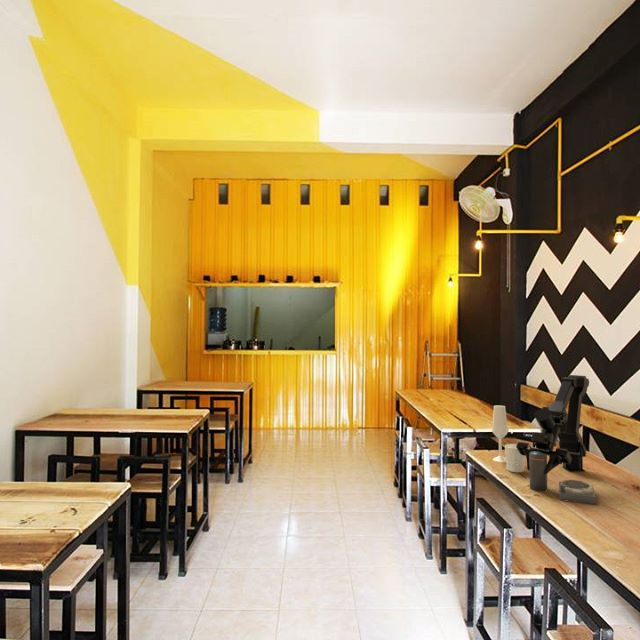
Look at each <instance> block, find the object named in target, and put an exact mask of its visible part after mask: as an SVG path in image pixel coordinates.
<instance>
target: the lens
mask: <svg viewBox="0 0 640 640" xmlns="http://www.w3.org/2000/svg"><path fill="white" fill-rule="evenodd" d="M547 463H548V455H547V454H546V453H543V452H536V451H534V452H529V490H532V491H534V490H535V492H541V491H542V492H546V490H547V491H548V473H547V474H545V468H546V466H547Z"/></svg>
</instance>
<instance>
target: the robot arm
mask: <svg viewBox="0 0 640 640" xmlns="http://www.w3.org/2000/svg"><path fill="white" fill-rule="evenodd" d="M589 386H590V380H589V378H587V376H586V375H577V374H569V375H568V376H565V377H562V378H561V384H560V387H559V388H558V392H557V393H556V396H555V398H554V401H553V402H552V403H550V404H549V405H548V406H542V408H540V409H537V411H535V412H534V418H535V421H536V422H537V424H538V426H539V427H540V429H541V431H540V432H534V431H533V432H532V433H531V434H532V435H531V440H530V441H531V442H533V445H534V446H533V447H532V446H531V445H530V444H529V442H525V441H518V442H517V443H516V444H517V445H516V448H517V449H518V451H519V453H520V454H521V455H524V456H525V459H526V469H527V471H529V452H534V451H536V452H543V453H546V454H547V457H549V458H548V460H547V466H546V468H545V474H547V475H548V474H549V473H550V472H551V471H552V470H553V469H554V468H556V467H557V466H559V465H562V466H561V467H562V468H563V469H565V470H566V471H568V472H585V471H586V470H585V469H584V467H583V466H584V464H583V462H584V461H583V460H584V459H583V458H586V457H587V449H586V446H585V443H584V442H583V437H582V435H581V433H580V423H581V414H582V413H581V412H582V403H583V397H584V396H585V394H586V393H587V392H588V387H589ZM567 407H568V409H567ZM565 423H566V427H565V430H564V431H562V432H561V428H560V426H559V425H562V426H563V425H565ZM559 435H560V439H559V442H558V447H557V439H558V436H559ZM554 447H557V448H556V449H555V450H554Z"/></svg>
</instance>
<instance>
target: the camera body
mask: <svg viewBox="0 0 640 640" xmlns="http://www.w3.org/2000/svg"><path fill="white" fill-rule="evenodd" d="M558 496H559V497H558V498H559V501H564V500H568V501H567V502H572V501H576V502H575V503H580V502H582V503H583V504H588V503H589V504H588V505H597V503H596V500H597V498H596V497H597V496H596V493H595V489H594V485H592V484H591V483H589V482H585V481H582V480H572V479H564V480H561V481H558Z"/></svg>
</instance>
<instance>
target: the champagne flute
mask: <svg viewBox="0 0 640 640" xmlns="http://www.w3.org/2000/svg"><path fill="white" fill-rule="evenodd" d="M492 413H493V416H492V424H491V426H492V427H491V432H492V434H494V436H495V437H496V438H497V439H498V456H496V457H493V458H492V461H493V462H498V463H506V457H505V456H503V455H502V453H503V449H502V448H503V447H502V445H503V443H502V442H503V441H502V440H503V439H504V438H505V436H507V434H508V433H509V430H508V429H509V428H508V427H509V426H508V420H507V411H506V406H505V405H501V404H500V405H493V412H492Z"/></svg>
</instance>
